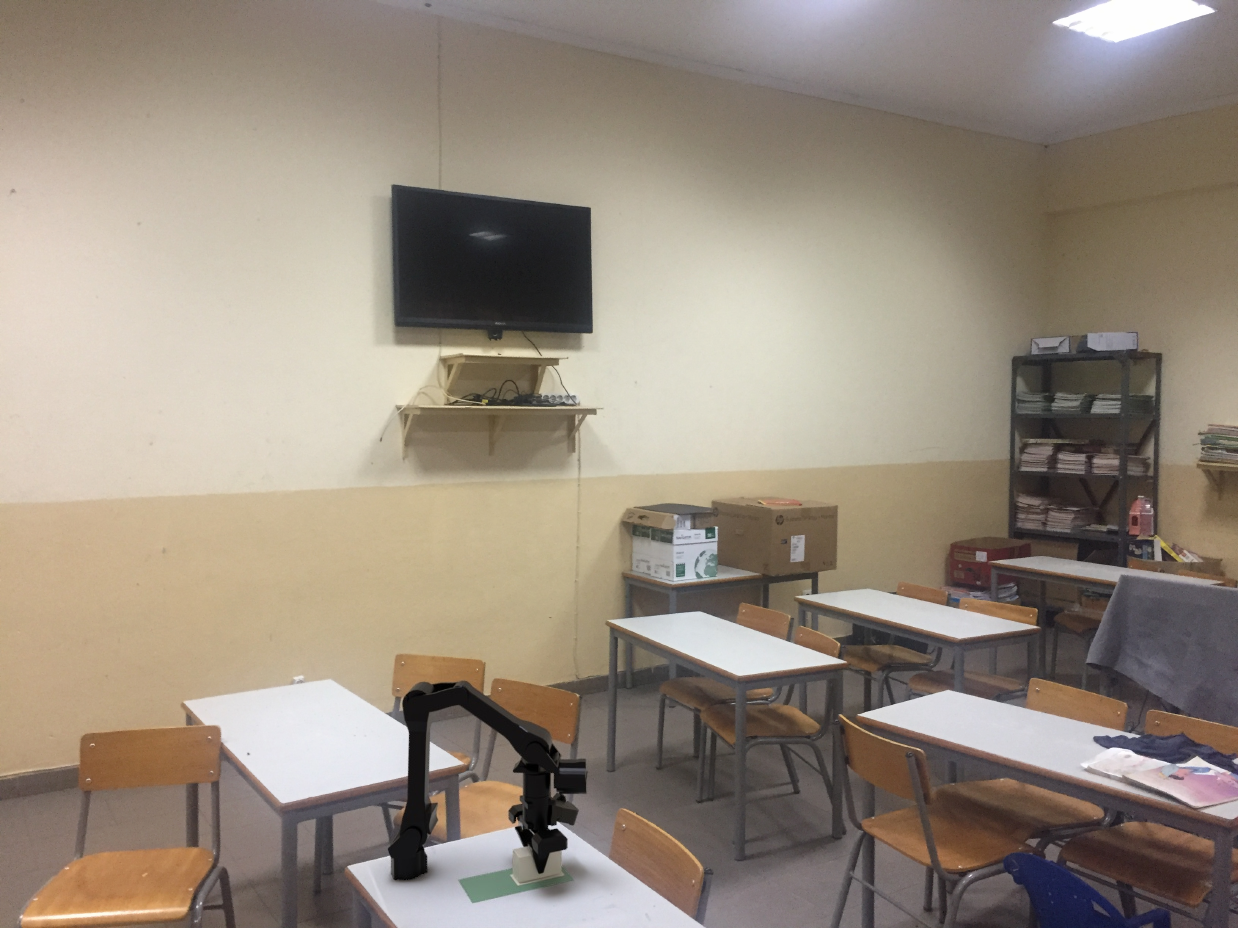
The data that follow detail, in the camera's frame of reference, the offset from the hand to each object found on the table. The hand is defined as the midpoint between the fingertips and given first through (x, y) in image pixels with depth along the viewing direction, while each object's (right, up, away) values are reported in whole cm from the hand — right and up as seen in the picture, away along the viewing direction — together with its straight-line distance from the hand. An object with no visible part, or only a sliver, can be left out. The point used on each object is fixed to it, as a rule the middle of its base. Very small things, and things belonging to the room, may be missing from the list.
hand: (537, 868), depth 187 cm
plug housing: (0, -1, 0) cm, 1 cm away
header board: (-4, -2, -2) cm, 5 cm away
